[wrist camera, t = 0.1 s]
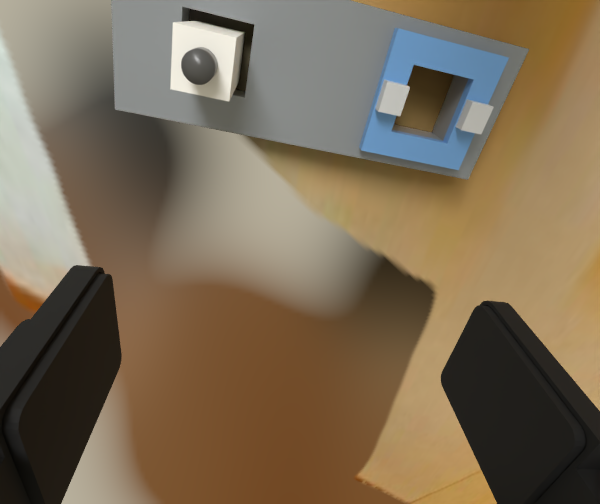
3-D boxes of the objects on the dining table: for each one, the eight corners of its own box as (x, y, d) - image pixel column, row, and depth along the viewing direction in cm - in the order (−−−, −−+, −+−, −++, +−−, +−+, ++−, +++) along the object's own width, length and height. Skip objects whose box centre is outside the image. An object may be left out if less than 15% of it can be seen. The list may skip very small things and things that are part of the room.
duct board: (123, -58, 29) (97, -72, 25) (510, 46, 35) (545, 51, 31) (126, 102, 35) (105, 115, 31) (455, 169, 41) (477, 188, 37)
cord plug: (198, 20, 32) (165, 22, 22) (245, 32, 33) (234, 39, 23) (195, 71, 34) (163, 94, 24) (239, 80, 35) (226, 107, 25)
